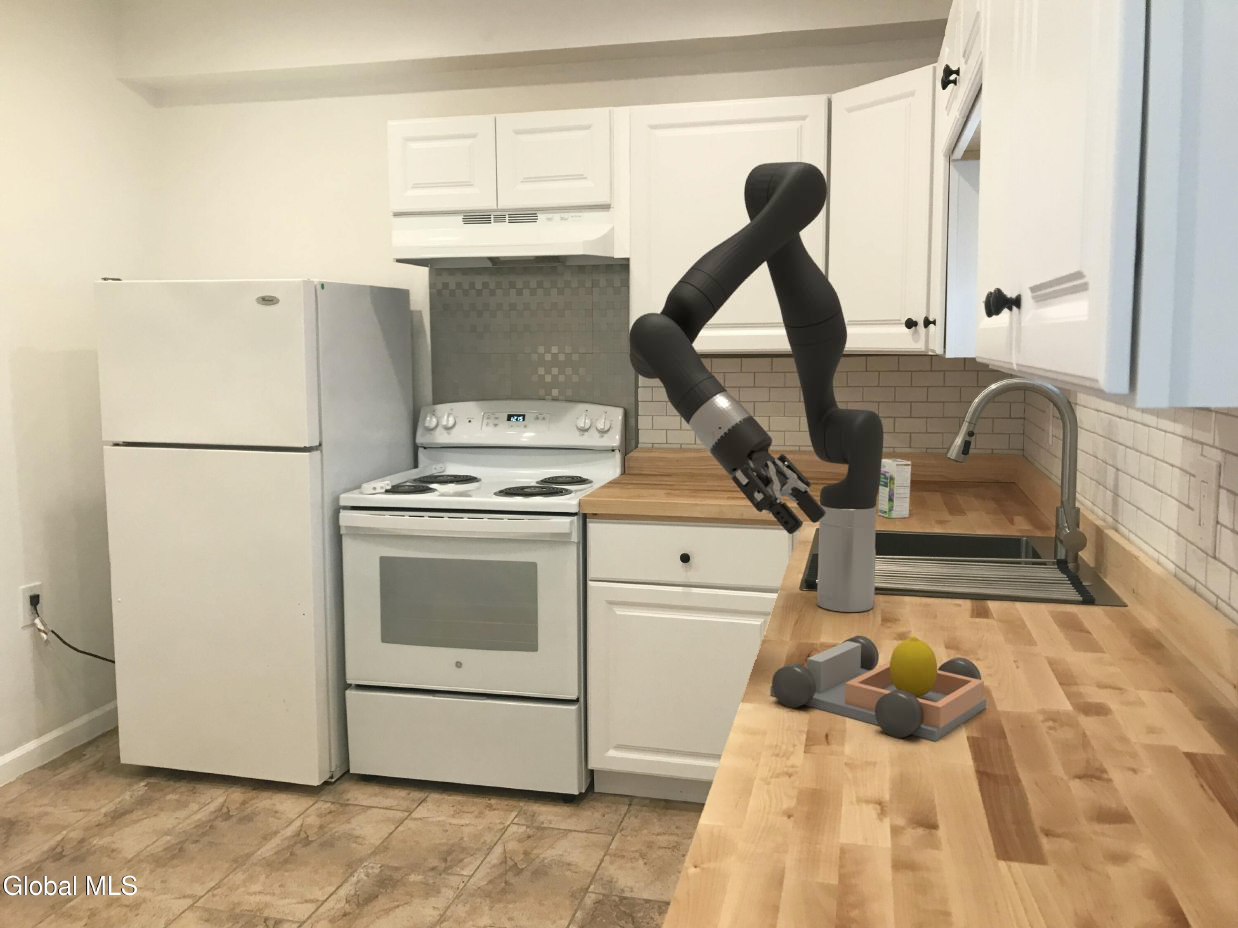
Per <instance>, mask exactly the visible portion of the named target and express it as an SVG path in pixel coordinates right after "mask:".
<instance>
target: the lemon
mask: <svg viewBox="0 0 1238 928" xmlns="http://www.w3.org/2000/svg"><path fill="white" fill-rule="evenodd" d="M889 661H890V676H891V680H892V682H893V684H894V686H895V687H896V689H897V690H905V691H908V692H910V693H911V694H913V695H914V696H915V697H916V698H918V697H920V696H923V695H925V694H927V693H928V692H929V691H930V690H931V689H932V688H933V686H934V684H935V682H936V678H937V670H938V662H937V658H936V655H935V652H934V650H933V649H932V647H931V646H930V645H929V644H928V643H926V642H925V641H923V640H921V639H919V638H918V637H917V636H911V637H910V638H907V639H904V640H903V641H901V642H899V643H898V644H897V645H896V646H895V648H894V649H893V651H892V654H891V657H890V660H889Z"/></svg>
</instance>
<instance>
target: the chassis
mask: <svg viewBox="0 0 1238 928" xmlns="http://www.w3.org/2000/svg"><path fill="white" fill-rule="evenodd" d="M879 654H880V653H879V650H878V648H877V646H876V645H875V643H874V642H873V640H871V639H870V638H869V637H867V636H863V635H855V636H852V637H850V638H848V639H845V640H844V641H842V642H841V643H839V644H838V645H835V646H833V647H830V648H829V649H825V650H824V651H822V652H819V653H816V654H815V655H813V656H810V657H807V658H806V666H804V665H803V664H800V663H789V664H787V665H785V666H783V667H780V668H778V669H777V670H776V671H775V672H774V674H773V675H772V680H771V685H770V692H769V693H770V694H769V695H770V696H771V697H774V698H776V700H778V701H779V703H781V704H782V705H783V706H785V707H787V708H792V709H793V708H794V709H795V708H799V707H801V706H807V707H811V708H815V709H818V710H822V711H826V712H829V713H832V714H837V715H840V716H844V717H848V718H850V719H854V720H858V721H861V722H865V723H869V724H872V725H875V726H879V727H880V729H881V730H882V731H883V732H884V733H885V734H887V735H888V736H890V737H892V738H896V739H900V738H901V739H903V738H906V737H908V736H910V735H912V736H915V737H919V738H922V739H925V740H929V741H932V742H933V741H934V742H937V741H938V740H940V739H941V738H943V737H944V736H945V735H947V734H948V733H950V732H952V731H953V730H955V729H956V728H958V727H959V726H961V725H962V724H963V723H966V722H967V721H969V720H970V719H971V718H973V717H974V716H977V714H979V713H980V712H982V711H983V710H985V709H986V708H987V707H986V706H987V698H985V697H984V685H985V684H984V683H985V681H984V680H982V675H981V672H980V670H979V668H978V666H976V664H975V663H974V662H972V661H971V660H970V659H967V658H965V657H960V656H957V657H953V658H950V659H949V660H947V661H945V662H943V663H941V665H940V666H939V667H937V678H936V682H935V684H934V686H933V688H932V689H931V690H930V691H929V692H928V693H927V694H925V695H923V696H920V697H918V698H916V697H915V696H914V695H913V694H911V693H910V692H908V691H905V690H897V689H896V687H895V686H894V684H893V682H892V680H891V676H890V660H889V661H888V662H885V663H883V664H882V665H879V666H878V663H879V660H880V659H879V658H880V655H879Z"/></svg>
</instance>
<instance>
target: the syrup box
mask: <svg viewBox="0 0 1238 928" xmlns="http://www.w3.org/2000/svg"><path fill="white" fill-rule="evenodd" d="M911 473H912V461H908V460H903V459H899V458H882V463H881V476H880V486H879V490H878V508H877V509H878V510H877V511H878V516H882V517H885V518H888V519H900V518H901V519H902V518H909V516H910V515H909V514H910V495H911Z"/></svg>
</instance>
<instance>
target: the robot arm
mask: <svg viewBox="0 0 1238 928" xmlns="http://www.w3.org/2000/svg"><path fill="white" fill-rule="evenodd" d="M827 195H828V186H827V181H826V178H825V175H824V173H823V172H822V171H821V169H819V168H818V167H817V165H815V164H812V163H809V162H805V161H787V162H786V161H785V162H783V161H782V162H769V163H768V162H766V163H762V164H761V163H760V164H758V165H757V166H754V167H753V168H752V169H751V171H750V172H749V173H748V175H747V177H746V179H745V183H744V192H743V197H744V199H743V200H744V204H745V205H744V206H745V209H746V213H747V215H748V219H749V222H748V224H746V225H745V226H744V227H743V228H741V229H740V230H738V231H736V233H734V234H733V235H731V236H730V237H727V238H726V239H725V240H724V241H722V242H721V243H718V245H716V246H714V247H713V248H710V250H709V251H707V252H706V253H704V254H703V255H702V256H701V257H700V258H699V259H698V260H697V261H696V262H694V264H693V265H691V266H690V268H688V270H687V271H686V272H685V273H684V274H683V276H681V278H679V280H678V281H677V282H676V284H674V286H673V287H672V288H671V289H670V291H669V292H668V294H667V296H666V300H665V302H664V305H663V308H662V310H660V312H659V313H658V312H648V313H644V314H642V315H640V316H639V317H638V318H637V319H635V320H634V322H633V324H632V325H631V326H630V327H631V328H630V331H629V336H628V349H629V350H628V351H629V361H630V364H631V366H632V368H633V370H634V371H635V373H637V375H639V376H640V377H643V378H645V379H650V380H653V379H654V380H657V379H658V380H659V382H660V383H661V384H662V386H663V388H664V390H665V393H666V396H667V399H668V401H669V403H670V404H671V406H672V407H673V409H674V410H675V411H676V412H677V413H678V414H679V416H681V418H682V419H683V420H684V422H685V423H686V424H688V425H689V426H688V427H690V429H691V430H692V431H693V433H694V435H695V437H696V438H697V439H698V441H699V442H701V444H702V445H703V446H704V447H705V449H707V451H708V452H709V453H710V454H711V456H712V457H713V458H714V459H715V460H716V461H717V462H718V464H719V465H720V466H721V467H722V469H723V470H725V472H726V473H727V475H729V476H731V480H732V482H733V483H734V484H735V485H736V486H737V488H738V489H739V490H740V491H741V493H742V494H743V495H744V496H745V497H746V498H747V500H748V501H749V502H750V503H751V505H752V506H753V507H754V508H755V510H756V511H757V512H760V513H762V512H763V511H765V512H766V513H767V514H769V515H770V514H771V515H772V516H773V518H774V519H775V520H776V521H777V522H778V523H779V524H780V526H782V528H783V529H784V530H785V531H786V533H787V534H789V535H792V534H795V532H797V531H798V530H799V529H800V528H801V527H802V526H803V521H802V520H801V518H799V516H798V515H797V514H796V512H794V511H793V510H792V507H790V506H789V505H788V504H787V502H785V501H784V499H783V497H784V496H785V497H786V498H787V497H788V499H790V500H792V501H793V502H795V503H796V506H797V507H798V508H799V509H800V510H801V511H802V512H803V514H805V516H806V517H807V518H808V519H809V520H810V521H811V522H812V523H814V524H816V523H819V524H818V525H819V526H818V527H819V528H818V529H819V530H818V560H817V561H818V562H817V563H818V564H817V567H818V568H817V595H816V596H817V598H816V600H817V602H816V603H817V606H819V607H821V608H823V609H825V610H829V611H834V612H842V613H844V612H845V613H856V612H857V613H859V612H866V611H869V610H871V609H872V608H873V607H874V604H875V593H876V591H875V590H876V589H875V585H876V559H877V557H876V555H877V553H876V552H877V550H876V528H877V527H876V526H877V525H876V523H877V521H876V520H877V519H876V518H877V499H878V498H877V497H878V495H879V487H880V476H881V463H882V459H883V454H884V453H883V452H884V425H883V423H882V422H883V421H882V419H881V417H880V416H879V414H878V413H877V412H875V411H873V410H870V409H853V408H841V407H839V405H838V403H837V401H836V396H835V391H834V378H835V374H836V371H837V369H838V366H839V364H840V362H841V359H842V357H843V354H844V352H845V349H846V345H847V341H848V329H847V325H846V320H845V317H844V312H843V307H842V304H841V301H840V298H839V296H838V292H837V291H836V289H835V287H834V286H833V285H832V282H830V281H829V278H827V275H825V274H824V272H823V271H822V269H821V268H820V267H819V266H818V264H817V263H816V262H815V261H814V259H813V258H812V256H811V255H810V253H809V251H808V250H807V248H806V246H805V245H804V242H803V239H802V237H801V234H800V232H802V231H804V229H806V228H807V227H808V226H809V225H810V224H811V223H813V222H814V221H815V220H816V219H817V217H818V216H819V214H820V213H821V212H822V210H823V208H824V206H825V204H826V201H827V198H828V196H827ZM765 263H766V266H767V268H768V272H769V276H770V280H771V282H772V286H773V289H774V293H775V296H776V299H777V302H778V305H779V306H778V307H779V309H780V314H781V318H782V323H783V326H784V331H785V334H786V337H787V341H788V344H789V347H790V350H791V355H792V357H793V361H794V364H795V368H796V372H797V375H798V381H799V384H800V388H801V394H802V398H803V404H804V405H803V406H804V410H805V411H804V412H805V417H806V423H807V429H808V433H809V434H808V436H809V439H810V443H811V447H812V450H813V451H814V453H815V455H816V456H817V458H818V459H819V460H821V461H823V462H825V463H826V462H827V463H830V464H836V465H837V464H838V465H848V467H847V473H846V476H845V477H844V478H843V479H842V480H840V481H838V482H835V483H834V482H833V483H831V484H828V485H825V486H823V487H822V488H821V489H820V491H819V502H818V500H816V499H815V498H814V497H813V495H812V494H811V493H810V487H812V483H811V482H810V481H809V479H808V478H806V476H805V474H803V473H802V472H801V471H800V470H799V468H797V467H796V465H795V464H794V463H793V462H792V461H791V460H790V458H788V457H787V456H786V455H785V454H784V453H780V455H779V456H777V458H775V457H774V456H773V455H772V454H771V453H770V452H769V448H771V446H772V443H773V438H772V436H771V435H769V434H768V432H767V431H766V430H765V429H764V427H763V426H762V425H761V424H760V423H759V422H758V421H757V419H756V418H754V416H753V415H752V414H751V413H750V412H749V410H748V409H747V408H746V407H745V406H744V405H743V404H742V403H741V402H740V401H739V400H738V398H735V396H734V395H732V394H731V393H730V392H729V391H728V390H727V389H726V388H725V387H724V386H723V385H722V383H721V382H720V381H719V380H718V379H717V377H715V375H713V373H712V372H711V371H710V370H709V369H708V368H707V367H706V364H704V362H703V360H702V359H701V357H700V354H699V353H698V352H697V350H696V348H695V346H694V345H693V344H694V342H695V341H696V340H697V338H698V336H699V334H700V333H701V331H702V330H703V329H704V327H705V326H706V324H708V323H709V322H710V321H711V320H712V318H714V316H715V315H716V314H717V312H719V310H720V309H721V308H722V307H723V306H724V305H725V304H726V302H727V301H728V300H729V299H730V298H731V296H732V295H734V293H735V292H736V291H737V290H738V288H740V286H741V285H742V284H743V283H744V282H745V281H746V280H747V279H748V278H750V276H751V275H752V274H753V273H754V272H756V270H758V269H759V268H760V267H761V266H762V265H763V264H765Z"/></svg>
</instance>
